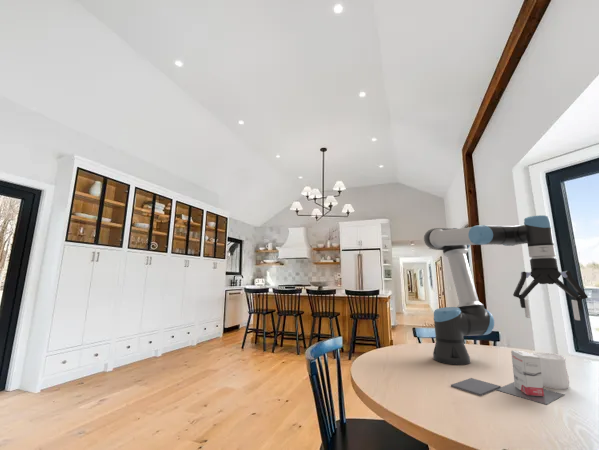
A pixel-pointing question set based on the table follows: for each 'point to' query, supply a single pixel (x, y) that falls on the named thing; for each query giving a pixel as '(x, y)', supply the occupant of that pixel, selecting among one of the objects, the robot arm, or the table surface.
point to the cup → (553, 370)
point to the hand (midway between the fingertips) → (551, 318)
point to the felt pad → (475, 386)
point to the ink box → (527, 373)
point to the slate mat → (546, 399)
